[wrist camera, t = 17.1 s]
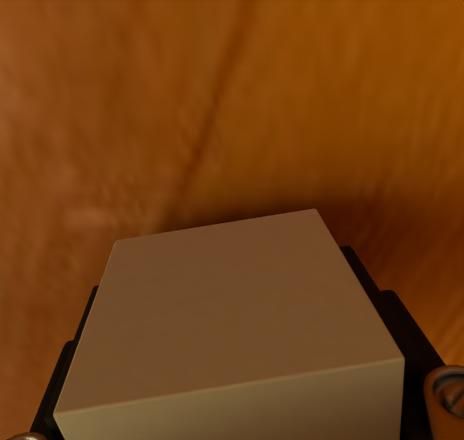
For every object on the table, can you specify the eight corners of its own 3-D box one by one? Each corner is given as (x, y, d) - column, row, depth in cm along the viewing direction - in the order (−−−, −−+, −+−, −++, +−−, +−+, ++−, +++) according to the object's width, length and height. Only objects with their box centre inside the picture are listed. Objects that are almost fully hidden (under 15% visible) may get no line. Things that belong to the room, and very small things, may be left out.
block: (159, 383, 13) (138, 589, 8) (114, 239, 10) (50, 415, 6) (324, 356, 13) (394, 548, 8) (315, 207, 10) (406, 358, 6)
